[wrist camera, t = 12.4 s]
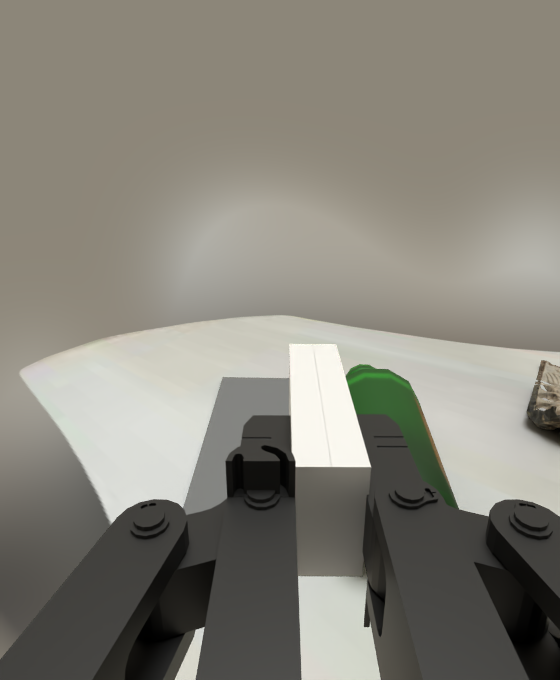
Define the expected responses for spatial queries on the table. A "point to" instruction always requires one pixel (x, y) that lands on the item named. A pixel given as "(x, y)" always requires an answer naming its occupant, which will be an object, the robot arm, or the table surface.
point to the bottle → (400, 419)
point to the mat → (231, 433)
